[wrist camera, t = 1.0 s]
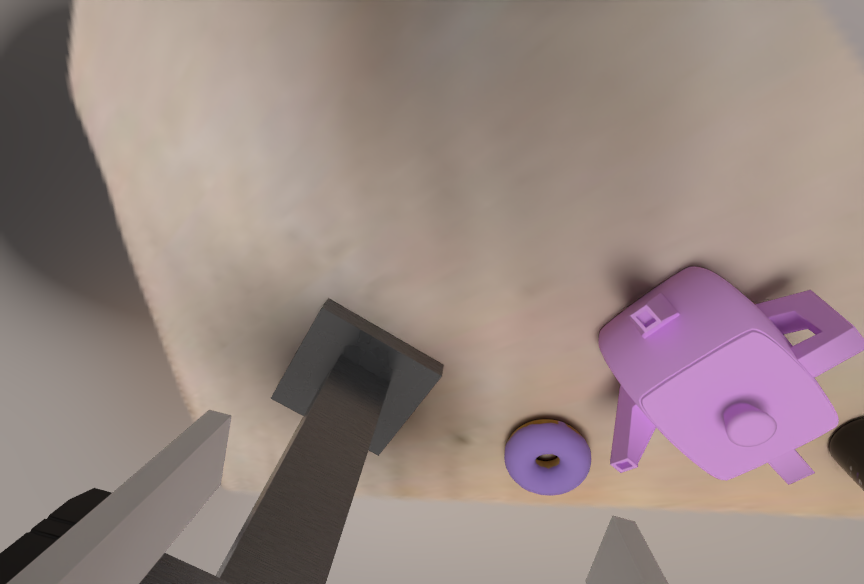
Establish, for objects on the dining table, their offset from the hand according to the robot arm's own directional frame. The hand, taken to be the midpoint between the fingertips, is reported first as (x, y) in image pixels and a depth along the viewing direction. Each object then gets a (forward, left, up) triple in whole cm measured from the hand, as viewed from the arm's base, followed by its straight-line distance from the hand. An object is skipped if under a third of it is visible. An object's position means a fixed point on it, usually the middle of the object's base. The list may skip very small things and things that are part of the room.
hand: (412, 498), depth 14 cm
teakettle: (+15, +19, -29) cm, 37 cm away
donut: (+27, +5, -29) cm, 40 cm away
